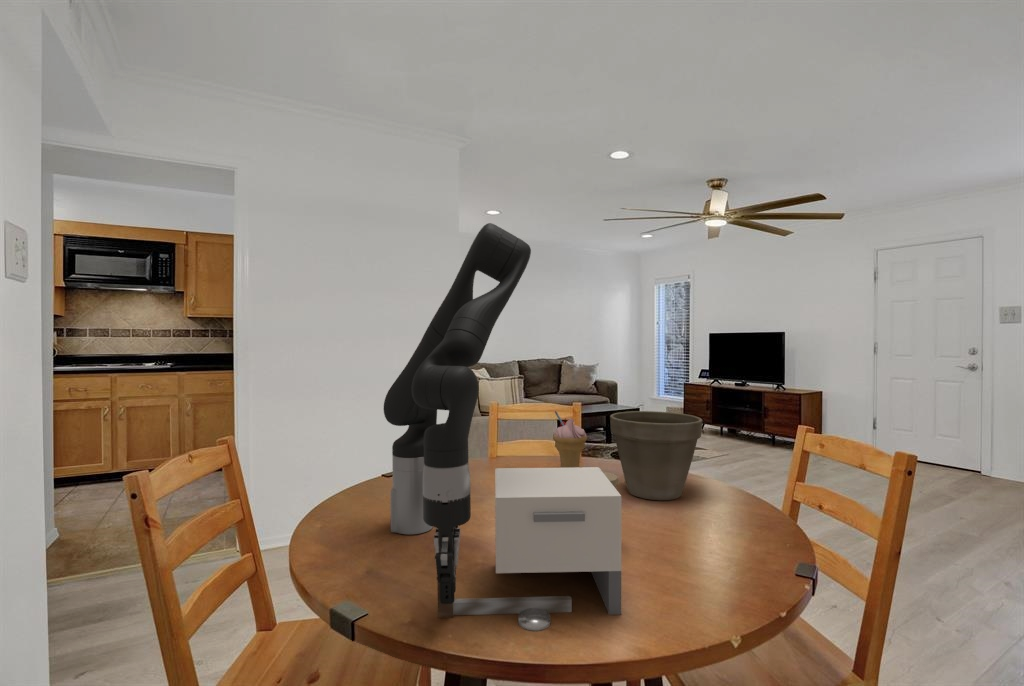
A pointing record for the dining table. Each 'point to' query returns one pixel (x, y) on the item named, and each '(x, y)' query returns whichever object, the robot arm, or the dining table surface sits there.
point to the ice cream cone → (569, 443)
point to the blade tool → (502, 605)
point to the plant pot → (655, 451)
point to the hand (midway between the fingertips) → (448, 597)
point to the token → (534, 619)
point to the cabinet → (560, 525)
